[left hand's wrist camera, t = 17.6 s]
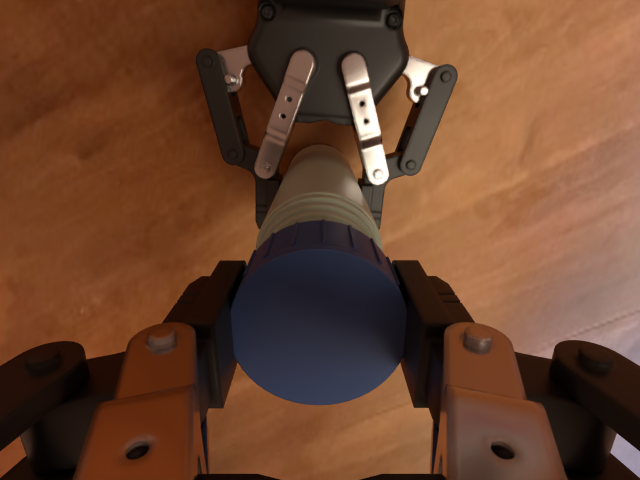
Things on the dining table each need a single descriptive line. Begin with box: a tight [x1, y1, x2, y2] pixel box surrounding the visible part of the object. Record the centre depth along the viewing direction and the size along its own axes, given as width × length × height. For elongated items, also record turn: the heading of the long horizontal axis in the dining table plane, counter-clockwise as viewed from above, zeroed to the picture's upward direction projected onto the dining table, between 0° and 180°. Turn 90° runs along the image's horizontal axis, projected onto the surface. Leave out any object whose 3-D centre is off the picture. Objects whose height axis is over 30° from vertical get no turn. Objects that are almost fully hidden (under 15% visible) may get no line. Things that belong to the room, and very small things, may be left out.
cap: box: [230, 219, 407, 405], centre depth 11 cm, size 5×5×2 cm
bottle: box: [256, 144, 383, 252], centre depth 20 cm, size 5×5×20 cm
